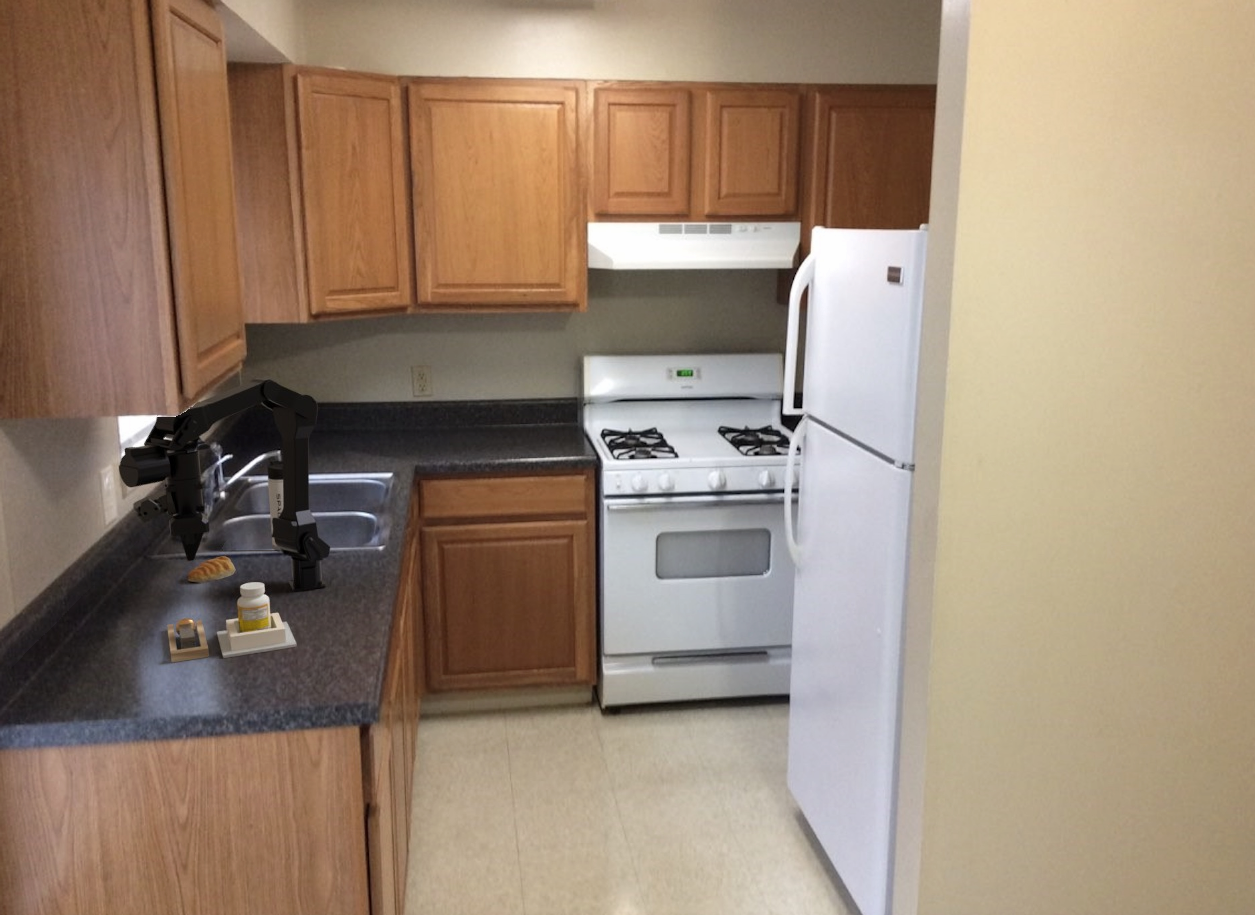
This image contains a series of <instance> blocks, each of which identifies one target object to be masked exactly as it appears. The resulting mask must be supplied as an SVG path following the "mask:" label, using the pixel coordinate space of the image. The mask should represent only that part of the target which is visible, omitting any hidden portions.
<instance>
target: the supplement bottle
mask: <svg viewBox="0 0 1255 915" xmlns="http://www.w3.org/2000/svg"><path fill="white" fill-rule="evenodd" d="M265 589H266V588H265V583H263V582H259V581H256V582H255V581H254V582H253V581H251V582H246V583H244V584H241V585H240V586H239V591H240V592H239V593H240V595H241V596H240V597H239V598H238V599H237V601H236V602H237V603H236V604H237V607H236V608H237V618H238V621H239V633H244V632H251V631H257V630H264V629H271V617H270V614H271V607H270V606H271V603H270V597H269V596H268V595H267V594H265V592H266V590H265Z"/></svg>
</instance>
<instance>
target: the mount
mask: <svg viewBox="0 0 1255 915" xmlns="http://www.w3.org/2000/svg"><path fill="white" fill-rule="evenodd" d="M195 626H196V631H197V636H198V642H199V646H196V647H193V648H187V649H182V648H181V649H178V648H177V642H176V640H177V639H176V634H175V627H174V624H173V623H172V624H167V626H166V627H167V636H168V642H169V643H168V644H169V650H170V659H171V663H177V662H183V661H190V660H196V659H197V660H198V659H204V658H209V657H210V652H209V651H210V650H209V645H208V643H207V637H206V634H205V628H204V625H203V619H200V620H199V619H198V620H195Z"/></svg>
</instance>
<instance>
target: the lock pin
mask: <svg viewBox="0 0 1255 915" xmlns="http://www.w3.org/2000/svg"><path fill="white" fill-rule="evenodd" d="M196 630H197V627H196V622H195V621H194V620H193V619H191V618H187V617H184V618H181V619H180V620H178V621H177V622H176V625H175V631H176V633H177V634H178V636H179V640H180V641H179V643H180V647H181V649H187V648H193V647H197V646H196V638H195V637H196V634H195V632H196Z"/></svg>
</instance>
